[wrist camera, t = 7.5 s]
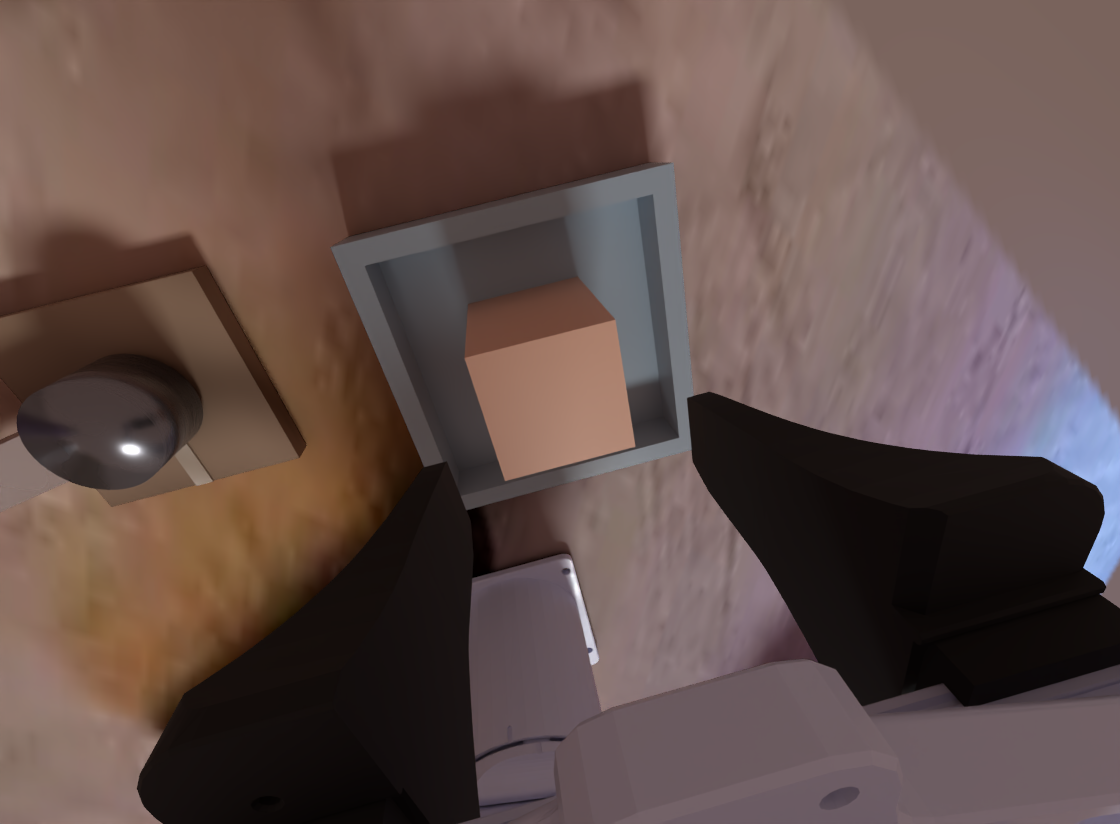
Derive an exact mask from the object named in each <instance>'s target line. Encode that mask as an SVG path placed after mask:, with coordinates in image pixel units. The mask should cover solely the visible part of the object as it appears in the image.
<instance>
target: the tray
mask: <svg viewBox="0 0 1120 824" xmlns="http://www.w3.org/2000/svg"><path fill="white" fill-rule="evenodd" d="M330 248H331V250H332V252H333V255H334V257H335V259H336V262H337V264H338V266H339V269H340V271H341V273H342V276H343V278H344V280H345V283H346V285H347V287H348V290H349V292H350V294H351V297H352V299H353V301H354V304H355V306H356V308H357V311H358V313H359V315H360V318H361V320H362V322H363V325H364V327H365V330H366V332H367V334H368V337H369V339H370V341H371V344H372V346H373V348H374V351H375V353H376V355H377V358H378V360H379V362H380V365H381V367H382V369H383V372H384V374H385V376H386V379H387V381H388V383H389V386H390V388H391V390H392V393H393V395H394V397H395V400H396V402H397V404H398V407H399V409H400V411H401V414H402V416H403V418H404V421H405V423H406V425H407V428H408V430H409V432H410V435H411V437H412V439H413V442H414V444H415V446H416V449H417V451H418V453H419V456H420V458H421V460H422V463H423V465H424V467H427V466H430V465H434V464H438V463H442V462H446V461H447V463H448V465H449V468H450V470H451V473H452V475H453V478H454V480H455V483H456V485H457V488H458V490H459V493H460V495H461V498H462V501H463V503H464V506H465V508H466V510H469V509H473V508H476V507H480V506H484V505H487V504H491V503H495V502H499V501H502V500H506V499H510V498H514V497H517V496H521V495H525V494H529V493H532V492H536V491H540V490H543V489H547V488H551V487H555V486H558V485H562V484H566V483H570V482H573V481H577V480H581V479H584V478H588V477H592V476H596V475H599V474H603V473H607V472H611V471H614V470H618V469H622V468H626V467H629V466H633V465H637V464H640V463H644V462H648V461H652V460H655V459H659V458H663V457H667V456H670V455H674V454H678V453H682V452H685V451H689V450H692V448H691V438H690V427H689V417H688V406H687V398H688V397H692V396H693V384H692V373H691V361H690V350H689V338H688V326H687V315H686V303H685V292H684V280H683V269H682V257H681V245H680V234H679V222H678V211H677V199H676V188H675V176H674V164H673V163H646V164H642V165H638V166H634V167H630V168H626V169H621V170H617V171H613V172H609V173H605V174H601V175H597V176H593V177H589V178H585V179H581V180H577V181H573V182H569V183H565V184H561V185H556V186H552V187H548V188H544V189H540V190H536V191H532V192H528V193H524V194H520V195H516V196H512V197H508V198H504V199H500V200H496V201H491V202H487V203H483V204H479V205H475V206H471V207H467V208H463V209H459V210H455V211H451V212H447V213H443V214H439V215H435V216H431V217H426V218H422V219H418V220H414V221H410V222H406V223H402V224H398V225H394V226H390V227H386V228H382V229H378V230H374V231H370V232H366V233H361V234H357V235H353V236H349V237H347V238H345V239H344V240H342V241H340V242H338V243H337V244H335V245H333V246H332V247H330ZM574 277H579V279H580V280H581V281H582V282H583V283H584V284H585V285H586V287H587V288H588V289H589V290H590V291H591V292H592V293H593V295H594V296H595V297H596V298H597V299H598V300H599V301H600V303H601V304H602V305H603V306H604V307H605V308H606V309H607V311H608V312H609V313H610V314H611V315H612V316H613V317H614V319H615V320H616V327H617V333H618V339H619V345H620V352H621V358H622V364H623V371H624V377H625V383H626V390H627V396H628V402H629V409H630V415H631V421H632V428H633V434H634V440H635V447H632V448H629V449H625V450H621V451H617V452H613V453H610V454H606V455H602V456H598V457H595V458H591V459H587V460H583V461H579V462H576V463H572V464H568V465H564V466H560V467H557V468H553V469H549V470H545V471H541V472H538V473H534V474H530V475H526V476H523V477H519V478H515V479H511V480H507V481H505V479H504V476H503V473H502V470H501V467H500V464H499V461H498V458H497V455H496V452H495V449H494V446H493V443H492V440H491V437H490V434H489V431H488V428H487V425H486V422H485V419H484V416H483V413H482V410H481V407H480V404H479V401H478V397H477V394H476V391H475V388H474V385H473V382H472V379H471V376H470V373H469V370H468V367H467V364H466V361H465V342H466V327H467V312H468V304H470V303H474V302H478V301H482V300H486V299H490V298H494V297H498V296H502V295H506V294H510V293H514V292H518V291H522V290H526V289H530V288H534V287H538V286H542V285H546V284H550V283H554V282H558V281H562V280H566V279H570V278H574Z"/></svg>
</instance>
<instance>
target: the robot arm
mask: <svg viewBox="0 0 1120 824" xmlns="http://www.w3.org/2000/svg"><path fill="white" fill-rule="evenodd" d="M687 406H688V417H689V427H690V438H691V448H692V459H693V463H694V465H695V467H696V469H697V471H698V473H699V474H700V476H701V478H702V480H703V482H704V484H705V485H706V487H707V489H708V491H709V492H710V494H711V495H712V496H713V498H714V499H715V501H716V502H717V503H718V505H719V506H720V507H721V509H722V510H723V511H724V513H725V514H726V516H727V517H728V518H729V520H730V521H731V522H732V524H733V525H734V526H735V528H736V529H737V530H738V532H739V533H740V534H741V536H742V537H743V538H744V540H745V541H746V542H747V544H748V545H749V546H750V548H751V549H752V550H753V552H754V553H755V554H756V556H757V557H758V559H759V560H760V562H761V563H762V565H763V566H764V568H765V569H766V571H767V572H768V574H769V576H770V577H771V579H772V581H773V582H774V584H775V586H776V587H777V589H778V591H779V593H780V594H781V596H782V598H783V599H784V601H785V603H786V604H787V606H788V608H789V610H790V612H791V613H792V615H793V617H794V619H795V620H796V622H797V624H798V626H799V628H800V629H801V631H802V633H803V635H804V637H805V638H806V640H807V642H808V644H809V646H810V648H811V649H812V651H813V653H814V655H815V657H816V659H817V661H818V663H817V662H814V661H811V660H807V659H795V660H786V661H777V662H770V663H766V664H763V665H759V666H756V667H752V668H749V669H745V670H742V671H738V672H735V673H731V674H728V675H724V676H721V677H717V678H714V679H710V680H707V681H703V682H700V683H696V684H693V685H689V686H686V687H682V688H679V689H675V690H672V691H668V692H665V693H661V694H658V695H654V696H651V697H647V698H644V699H640V700H637V701H633V702H630V703H626V704H623V705H619V706H616V707H612V708H610V709H608V710H606V711H603V712H602V711H601V707H600V703H599V698H598V694H597V689H596V685H595V680H594V676H593V672H592V667H591V665H593V664H595V663H597V662H598V660H599V655H598V651H597V647H596V644H595V640H594V637H593V633H592V629H591V626H590V622H589V618H588V615H587V611H586V608H585V604H584V600H583V597H582V593H581V589H580V586H579V582H578V579H577V575H576V571H575V568H574V564H573V561H572V558H571V556H570V555H568V554H560V555H556V556H552V557H549V558H545V559H541V560H538V561H534V562H530V563H527V564H523V565H519V566H516V567H512V568H508V569H505V570H501V571H497V572H494V573H490V574H486V575H483V576H479V577H475V578H472V575H473V541H472V530H471V521H470V518H469V516H468V513H467V511H466V508H465V506H464V503H463V501H462V498H461V495H460V493H459V490H458V488H457V485H456V483H455V480H454V478H453V475H452V473H451V470H450V468H449V465H448V463H447V461H446V462H442V463H438V464H434V465H430V466H427V467H424V468H423V469H422V470H421V471H420V473H419V474H418V475H417V477H416V478H415V480H414V481H413V482H412V484H411V485H410V487H409V488H408V490H407V491H406V493H405V494H404V495H403V497H402V498H401V500H400V501H399V502H398V504H397V505H396V506H395V508H394V509H393V511H392V512H391V513H390V515H389V516H388V517H387V519H386V520H385V521H384V522H383V524H382V525H381V526H380V527H379V529H378V530H377V531H376V532H375V534H374V535H373V536H372V537H371V539H370V540H369V541H368V542H367V544H366V545H365V546H364V547H363V548H362V550H361V551H360V552H359V553H358V554H357V555H356V556H355V557H354V558H353V560H352V561H351V562H350V563H349V564H348V565H347V566H346V567H345V568H344V569H343V570H342V571H341V572H340V573H339V574H338V575H337V576H336V577H335V578H334V579H333V580H332V581H331V582H330V583H329V584H328V585H327V586H326V587H325V588H323V589H322V590H321V591H320V592H319V593H318V594H317V595H316V596H315V597H313V598H312V599H311V600H310V601H309V602H308V603H307V604H306V605H305V606H303V607H302V608H301V609H300V610H299V611H298V612H297V613H296V614H294V615H293V616H292V617H291V618H290V619H288V620H287V621H286V622H285V623H283V624H282V625H281V626H280V627H278V628H277V629H276V630H275V631H273V632H272V633H271V634H269V635H268V636H267V637H265V638H264V639H263V640H261V641H260V642H259V643H258V644H256V645H255V646H254V647H252V648H251V649H249V650H248V651H247V652H245V653H244V654H243V655H241V656H240V657H238V658H237V659H235V660H234V661H232V662H231V663H229V664H228V665H227V666H225V667H224V668H222V669H221V670H219V671H218V672H216V673H215V674H213V675H212V676H210V677H209V678H207V679H206V680H204V681H203V682H201V683H200V684H198V685H197V686H195V687H194V688H192V689H191V690H189V691H188V692H186V693H185V694H184V695H183V697H182V699H181V700H180V702H179V704H178V706H177V708H176V710H175V711H174V713H173V715H172V717H171V719H170V720H169V722H168V724H167V726H166V728H165V729H164V731H163V733H162V735H161V737H160V739H159V740H158V742H157V744H156V746H155V748H154V749H153V751H152V753H151V755H150V757H149V759H148V760H147V762H146V764H145V766H144V768H143V769H142V771H141V773H140V776H139V781H138V786H137V790H138V793H139V796H140V798H141V801H142V803H143V805H144V807H145V808H146V809H147V810H148V811H149V812H150V813H151V814H152V815H153V816H154V817H155V818H156V819H157V820H159V821H160V822H161V823H163V824H1120V608H1118V607H1117V606H1116V605H1114V604H1113V603H1111V602H1110V601H1108V600H1107V599H1106V598H1104V597H1103V596H1101V595H1100V593H1103V592H1104V591H1105V589H1106V586H1105V584H1104V582H1103V581H1102V580H1100V579H1099V578H1097V577H1096V576H1094V575H1093V574H1091V573H1090V572H1088V571H1087V570H1085V569H1084V568H1083V567H1084V564H1085V562H1086V560H1087V558H1088V555H1089V553H1090V551H1091V549H1092V546H1093V544H1094V542H1095V540H1096V537H1097V535H1098V533H1099V531H1100V528H1101V525H1102V522H1103V518H1104V515H1105V511H1104V500H1103V495H1102V494H1101V492H1100V491H1099V489H1098V488H1097V486H1096V485H1094V484H1092V483H1090V482H1088V481H1086V480H1084V479H1082V478H1081V477H1079V476H1077V475H1075V474H1073V473H1071V472H1069V471H1068V470H1066V469H1064V468H1062V467H1060V466H1058V465H1056V464H1055V463H1053V462H1051V461H1049V460H1047V459H1045V458H1043V457H1028V456H1000V455H974V454H961V453H950V452H938V451H928V450H920V449H912V448H905V447H898V446H892V445H886V444H879V443H873V442H868V441H863V440H858V439H854V438H849V437H845V436H841V435H836V434H832V433H828V432H824V431H821V430H817V429H813V428H810V427H807V426H804V425H800V424H797V423H794V422H791V421H788V420H785V419H782V418H779V417H776V416H773V415H771V414H768V413H765V412H763V411H760V410H757V409H755V408H752V407H749V406H747V405H744V404H742V403H739V402H737V401H734V400H731V399H729V398H726V397H724V396H721V395H718V394H715V393H712V392H707V393H703V394H699V395H695V396H692V397H688V398H687ZM564 568H568V569H566V570H562V569H564Z"/></svg>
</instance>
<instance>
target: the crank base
mask: <svg viewBox="0 0 1120 824" xmlns="http://www.w3.org/2000/svg"><path fill="white" fill-rule="evenodd" d="M114 354H134V355H141V356H145V357H149V358H152V359H155V360H157V361H159V362H162V363H164V364H166V365H168V366H169V367H171V368H173V369H174V370H176V371H177V372H178V373H180V374H181V375H182V376H183V377H184V378H185V379H186V380H187V381H188V382H189V383H190V384H191V385H192V386H193V388H194V389H195V391H196V392H197V394H198V396H199V398H200V400H201V403H202V407H203V421H202V425H201V427H200V429H199V431H198V432H197V434H196V435H195V436H194V437H193V438H192V439H191V440H190V441H189V442H188V443H187V444H186V445H185V446H184V447H183V448H182V449H181V450H180V451H179V452H178V453H177V454H176V455H174V456H173V457H172V458H171V459H170V460H169V461H168V462H167V463H166V464H165V465H164V466H163V467H162V468H161V469H160V470H159V471H158V472H157V473H156V474H155V475H154V476H153V477H152V478H150V479H149V480H148V481H146V482H144V483H142V484H140V485H138V486H135V487H131V488H127V489H120V490H102V489H96V490H97V491H98V492H99V493H100V494H101V495H102V497H103V498H104V499H105V500H106V501H107V502H108V504H109V505H110V506H111V507H113V506H117V505H121V504H125V503H129V502H133V501H136V500H140V499H144V498H148V497H152V496H156V495H159V494H163V493H167V492H171V491H175V490H179V489H182V488H186V487H190V486H194V485H196V486H198V485H202V484H206V483H209V482H213V481H214V480H217V479H221V478H225V477H228V476H232V475H236V474H240V473H244V472H247V471H251V470H255V469H259V468H263V467H267V466H270V465H274V464H278V463H282V462H286V461H290V460H293V459H297V458H300V456H301V454H302V453H303V451H304V449H305V448H306V444H305V442H304V440H303V438H302V437H301V435H300V433H299V431H298V429H297V428H296V426H295V424H294V422H293V421H292V419H291V417H290V415H289V413H288V412H287V410H286V408H285V406H284V404H283V403H282V401H281V399H280V397H279V395H278V394H277V392H276V390H275V388H274V387H273V385H272V383H271V381H270V379H269V378H268V376H267V374H266V372H265V370H264V369H263V367H262V365H261V363H260V362H259V360H258V358H257V356H256V354H255V353H254V351H253V349H252V347H251V345H250V344H249V342H248V340H247V338H246V336H245V335H244V333H243V331H242V329H241V328H240V326H239V324H238V322H237V320H236V319H235V317H234V315H233V313H232V311H231V310H230V308H229V306H228V304H227V302H226V301H225V299H224V297H223V295H222V294H221V292H220V290H219V288H218V286H217V285H216V283H215V281H214V279H213V277H212V276H211V274H210V272H209V270H208V269H207V267H206V266H202V267H198V268H194V269H190V270H186V271H182V272H178V273H174V274H170V275H166V276H162V277H157V278H153V279H149V280H145V281H141V282H137V283H133V284H129V285H125V286H121V287H117V288H113V289H109V290H105V291H100V292H96V293H92V294H88V295H84V296H80V297H76V298H72V299H68V300H64V301H60V302H56V303H52V304H48V305H43V306H39V307H35V308H31V309H27V310H23V311H19V312H15V313H11V314H7V315H3V316H0V378H1V379H2V380H3V381H4V382H5V384H6V385H7V386H8V387H9V388H10V389H11V391H12V392H13V393H14V394H15V395H16V396H17V398H18V399H19V400H20V401H21V402H22V403H23V402H24V401H25V400H26V399H27V398H28V397H29V396H30V395H31V394H33V393H35V392H37V391H38V390H40V389H42V388H44V387H46V386H48V385H50V384H52V383H54V382H56V381H57V380H59V379H61V378H63V377H65V376H67V375H69V374H71V373H73V372H75V371H77V370H79V369H80V368H82V367H84V366H86V365H88V364H90V363H92V362H94V361H96V360H98V359H100V358H103V357H105V356H109V355H114Z"/></svg>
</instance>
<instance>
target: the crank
mask: <svg viewBox="0 0 1120 824" xmlns="http://www.w3.org/2000/svg"><path fill="white" fill-rule="evenodd" d="M202 421H203V407H202V403H201V400H200V398H199V396H198V394H197V392H196V391H195V389H194V388H193V386H192V385H191V384H190V383H189V382H188V381H187V380H186V379H185V378H184V377H183V376H182V375H181V374H180V373H178V372H177V371H176V370H174V369H173V368H171V367H169V366H168V365H166V364H164V363H162V362H159V361H157V360H155V359H152V358H149V357H145V356H141V355H134V354H114V355H109V356H105V357H103V358H100V359H98V360H96V361H94V362H92V363H90V364H88V365H86V366H84V367H82V368H80V369H79V370H77V371H75V372H73V373H71V374H69V375H67V376H65V377H63V378H61V379H59V380H57V381H56V382H54V383H52V384H50V385H48V386H46V387H44V388H42V389H40V390H38V391H37V392H35V393H33V394H31V395H30V396H29V397H28V398H27V399H26V400H25V401H24V402H23V403H22V405H21V407H20V409H19V411H18V415H17V430H18V432H16V433H14V434H12V435H10V436H8V437H5V438H3V439H1V440H0V512H2V511H4V510H6V509H8V508H11V507H13V506H15V505H17V504H20V503H22V502H24V501H26V500H28V499H31V498H33V497H35V496H37V495H39V494H42V493H44V492H46V491H48V490H51V489H53V488H55V487H57V486H59V485H62V484H64V483H66V482H68V481H70V482H72V483H75V484H78V485H81V486H85V487H89V488H95V489H102V490H120V489H127V488H131V487H135V486H138V485H140V484H142V483H144V482H146V481H148V480H149V479H150V478H152V477H153V476H154V475H155V474H156V473H157V472H158V471H159V470H160V469H161V468H162V467H163V466H164V465H165V464H166V463H167V462H168V461H169V460H170V459H171V458H172V457H173V456H174V455H176V454H177V453H178V452H179V451H180V450H181V449H182V448H183V447H184V446H185V445H186V444H187V443H188V442H189V441H190V440H191V439H192V438H193V437H194V436H195V435H196V434H197V432H198V431H199V429H200V427H201V425H202Z"/></svg>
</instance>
